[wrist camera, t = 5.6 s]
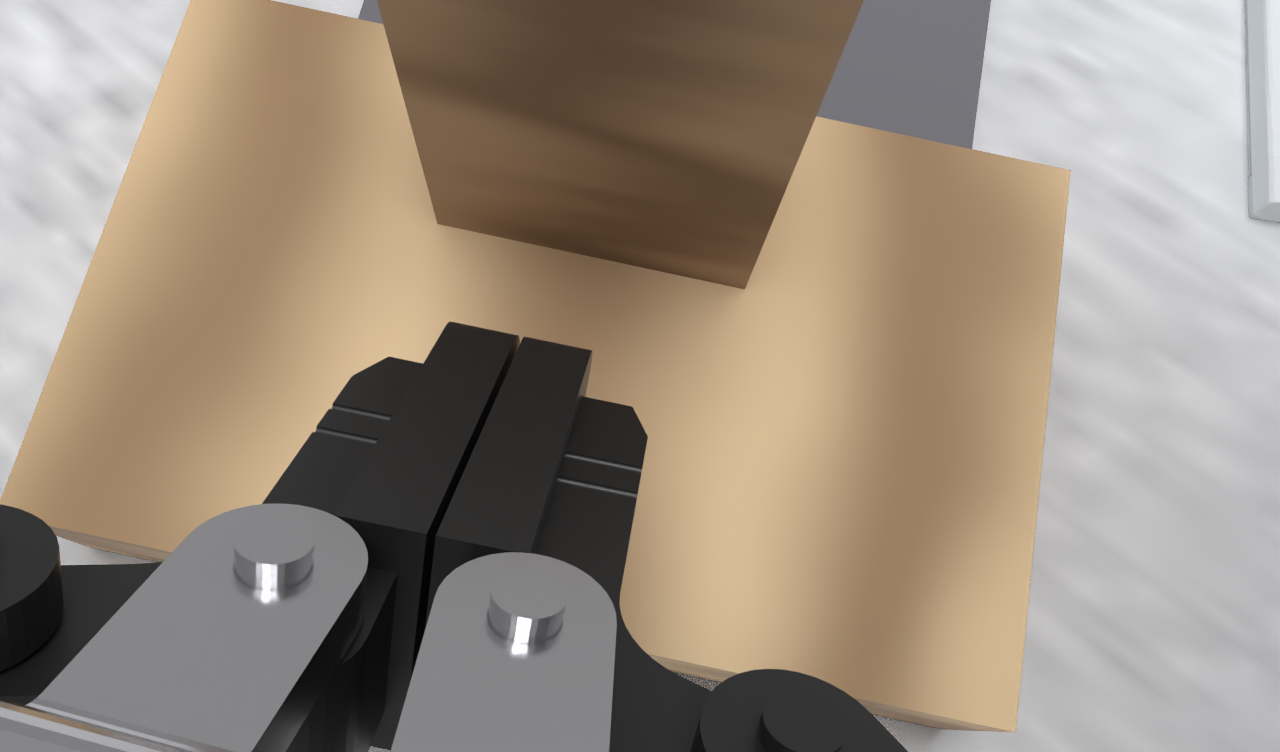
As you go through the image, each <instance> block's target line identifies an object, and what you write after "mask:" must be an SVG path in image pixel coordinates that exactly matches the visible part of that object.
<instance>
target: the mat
mask: <svg viewBox="0 0 1280 752" xmlns="http://www.w3.org/2000/svg"><path fill="white" fill-rule="evenodd" d="M990 2H991V0H864V2H863V4H862V6H861V9H860V11H859V14H858V16H857V19H856V21H855V23H854V26H853V28H852V31H851V33H850V36H849V38H848V40H847V43H846V45H845V48H844V50H843V53H842V55H841V57H840V60H839V62H838V65H837V67H836V69H835V72H834V74H833V77H832V79H831V82H830V84H829V86H828V89H827V91H826V94H825V96H824V99H823V101H822V103H821V106H820V108H819V111H818V113H817V117H822V118H827V119H831V120H836V121H841V122H845V123H850V124H855V125H859V126H864V127H869V128H874V129H878V130H883V131H888V132H892V133H897V134H902V135H907V136H911V137H916V138H921V139H925V140H930V141H935V142H939V143H944V144H949V145H954V146H958V147H963V148H968V149H972V143H973V135H974V127H975V119H976V111H977V104H978V96H979V88H980V80H981V72H982V65H983V57H984V49H985V41H986V33H987V26H988V18H989V10H990ZM358 19H361V20H365V21H370V22H375V23H380V24H383V21H382V17H381V13H380V10H379V6H378V2H377V0H364V2H363V5H362V8H361V12H360V15H359V18H358Z"/></svg>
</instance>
